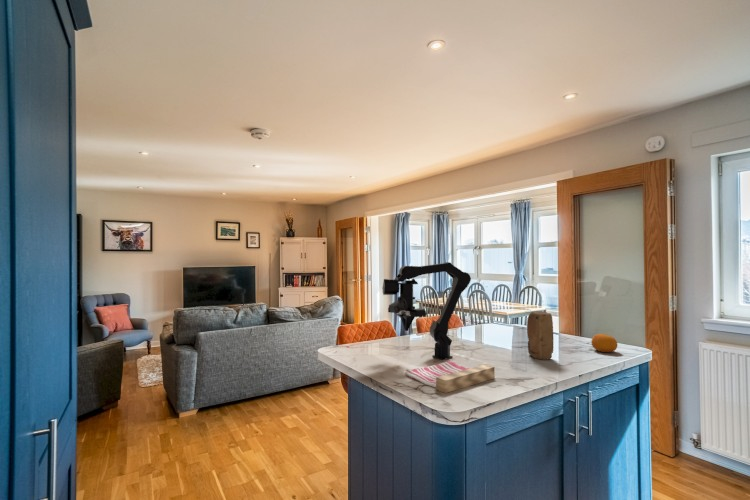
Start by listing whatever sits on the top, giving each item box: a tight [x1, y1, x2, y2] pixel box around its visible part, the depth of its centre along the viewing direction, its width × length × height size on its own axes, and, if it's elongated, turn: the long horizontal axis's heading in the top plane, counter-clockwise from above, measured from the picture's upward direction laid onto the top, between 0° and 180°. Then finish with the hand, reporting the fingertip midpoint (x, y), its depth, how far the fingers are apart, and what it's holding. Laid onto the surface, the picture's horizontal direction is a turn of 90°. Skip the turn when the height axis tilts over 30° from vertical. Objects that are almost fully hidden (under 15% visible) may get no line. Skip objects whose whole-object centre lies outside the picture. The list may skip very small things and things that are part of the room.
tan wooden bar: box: [435, 364, 496, 394], centre depth 130 cm, size 26×4×4 cm, turn 127°
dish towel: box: [404, 360, 471, 389], centre depth 139 cm, size 17×23×4 cm
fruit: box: [591, 333, 618, 353], centre depth 177 cm, size 10×10×8 cm
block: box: [526, 310, 554, 361], centre depth 166 cm, size 11×8×20 cm
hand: (406, 330), depth 163 cm, fingers closed
